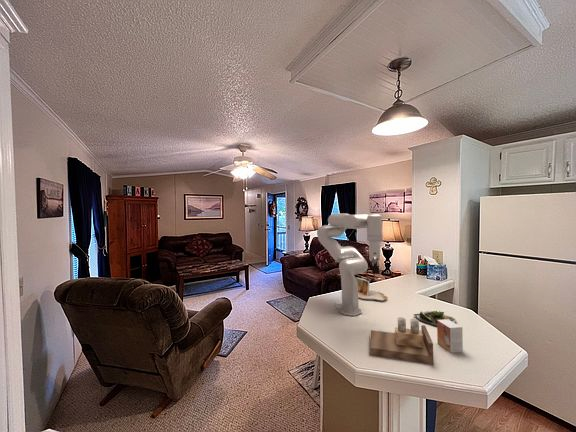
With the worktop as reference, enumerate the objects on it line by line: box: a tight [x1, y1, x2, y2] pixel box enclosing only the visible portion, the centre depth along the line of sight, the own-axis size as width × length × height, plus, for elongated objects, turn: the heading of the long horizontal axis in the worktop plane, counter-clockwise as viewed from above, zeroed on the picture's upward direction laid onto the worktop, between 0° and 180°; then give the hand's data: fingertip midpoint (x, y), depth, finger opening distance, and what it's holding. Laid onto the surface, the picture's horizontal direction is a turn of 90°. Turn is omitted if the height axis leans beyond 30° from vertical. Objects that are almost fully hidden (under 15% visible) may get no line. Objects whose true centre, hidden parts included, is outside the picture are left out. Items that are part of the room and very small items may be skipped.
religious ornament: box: [355, 277, 389, 302], centre depth 171 cm, size 25×20×12 cm
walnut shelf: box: [369, 324, 435, 365], centre depth 105 cm, size 23×16×8 cm
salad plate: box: [413, 310, 457, 328], centre depth 133 cm, size 19×18×5 cm
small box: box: [436, 319, 464, 354], centre depth 105 cm, size 8×6×10 cm
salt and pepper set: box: [394, 316, 423, 348], centre depth 104 cm, size 10×5×10 cm, turn 70°
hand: (375, 271), depth 127 cm, fingers open, 9 cm apart
